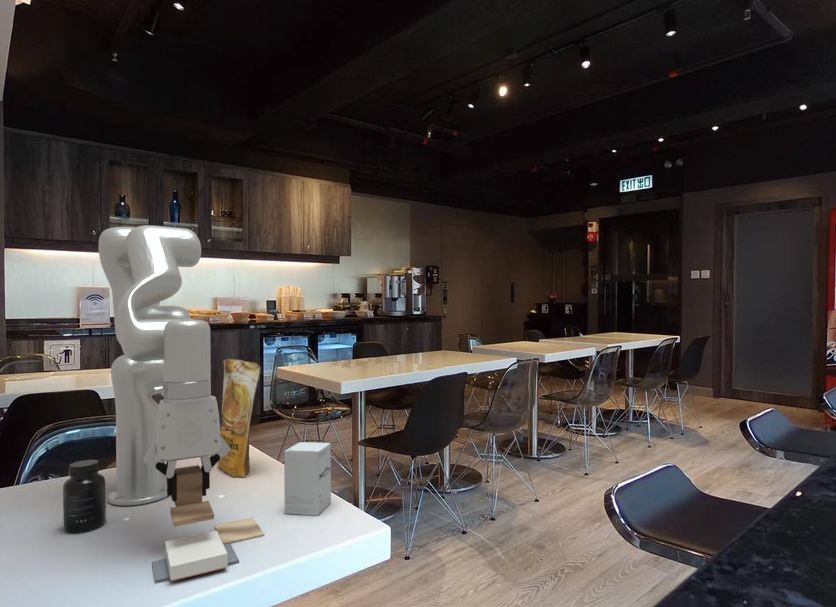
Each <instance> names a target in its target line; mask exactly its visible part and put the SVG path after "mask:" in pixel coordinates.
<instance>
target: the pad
mask: <svg viewBox="0 0 836 607" xmlns="http://www.w3.org/2000/svg"><path fill="white" fill-rule="evenodd" d="M214 529H215V531H217V532H218V534H219V536H220V539H221V541H222V543H223V545H227V544H234V543H237V542H242V541H246V540H252V539H255V538H259V537H263V536H265V533H264V531H263V530H262V528H261V527H260V525H259V524H258V522H257V521H256V520H255V519H254V517H253V516H252V517H247V518H243V519H238V520H233V521H229V522H223V523H219V524H214Z"/></svg>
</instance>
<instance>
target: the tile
mask: <svg viewBox="0 0 836 607" xmlns="http://www.w3.org/2000/svg"><path fill="white" fill-rule="evenodd" d="M164 555H165V558H166V561H167V566H168V571H169V576H170V580H169V581H172V582H174V581H178V580H183V579H187V578H189V577H193V576H194V577H195V576H198V575H203V574H208V573H211V572H215V571H218V570H219V571H220V570H224V569H226V568H227V567H228V566H229V565H228V563H227V552H226V549H225V547H224V545H223V543H222V541H221V539H220V536H219V534H218V532H217V531H216V530H214V531H208V532H203V533H198V534H195V535H190V536H184V537H180V538H174V539H169V540H166V541H164Z"/></svg>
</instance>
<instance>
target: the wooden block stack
mask: <svg viewBox="0 0 836 607" xmlns="http://www.w3.org/2000/svg"><path fill="white" fill-rule="evenodd" d="M175 475H176V478H177V500H176V501H173V503H174V505H175V506H173V507H170V510H169V511H170V516H171V517H170V518H171V521H172V524H173V528H175V527H176V528H177V527H182V526H185V525H190V524H191V525H192V524H196V523H200V522H206V521H212V520H214V519H215V513H214V511H213V509H212V506H211V504H210V502H209V500H205V501H203V496H202V471H201V466H200V465H199V464H198V465H197V464H196V465H191V466H184V467H179V468H178V467H175Z"/></svg>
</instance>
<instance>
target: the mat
mask: <svg viewBox="0 0 836 607" xmlns="http://www.w3.org/2000/svg"><path fill="white" fill-rule="evenodd" d="M224 547H225V549H226V552H227V563H228V566H231V565H235V564H236V565H237V564H239V563H240V559H239V557H238V556H237V554H236V551H235V549H234V548H233V546H232V543H229V544H225V545H224ZM151 565H152V572H153V579H154V583H155V584H158V583H163V582H167V581H171V580H170V576H169V571H168V566H167V561H166V557H165V558H163V559H157V560H152V561H151Z"/></svg>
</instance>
